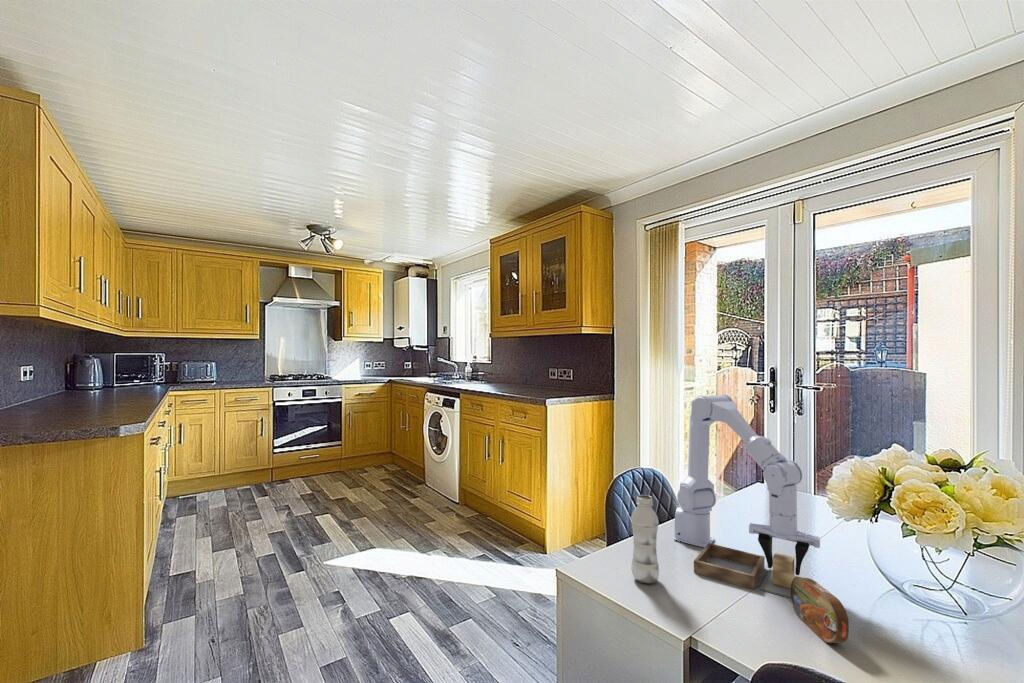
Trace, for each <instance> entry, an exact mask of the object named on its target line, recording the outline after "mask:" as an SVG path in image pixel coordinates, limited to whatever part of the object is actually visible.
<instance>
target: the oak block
mask: <svg viewBox="0 0 1024 683" xmlns="http://www.w3.org/2000/svg"><path fill="white" fill-rule="evenodd" d="M772 557H773V566H772V570H773V584H775V585H779V586H783V587H787V588H791V583H792V580H793V579H794V578H795V576H796V574H795V556H791V555H786V554H784V553H783V554H781V553H778V552H775V553H774V554H773V555H772Z"/></svg>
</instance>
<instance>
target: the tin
mask: <svg viewBox="0 0 1024 683" xmlns="http://www.w3.org/2000/svg"><path fill="white" fill-rule="evenodd" d="M801 577H802V576H798V577H795V578H794V579H793V580H792V583H791V588H790V595H791V598H790V600H791V604H792V605H791V606H792V608H793V609H794V612H795V614H796V615H797V617H798V618H799V619H800V620H801V621H802V622H803V624H805V625H806V626H807V627H808V628H809V629H811V631H813V633H814V634H816V635H817V637H819V638H820V639H821V640H822V641H823V642H825V643H827V644H843V643H845V642H846V641H847V640H848V638H849V627H850V624H849V622H850V620H849V616H848V613H847V610H846V608H845V606H844V604H842V602H841V601H840V600H839V599H838V598H837V596H835V595H833V594H832V593H831V592H830V591H829V590H827V589H826V588H825V587H823V586H822V585H821V584H819V583H818V582H817V581H815V580H814V579H812V578H809V577H802V578H801Z"/></svg>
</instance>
